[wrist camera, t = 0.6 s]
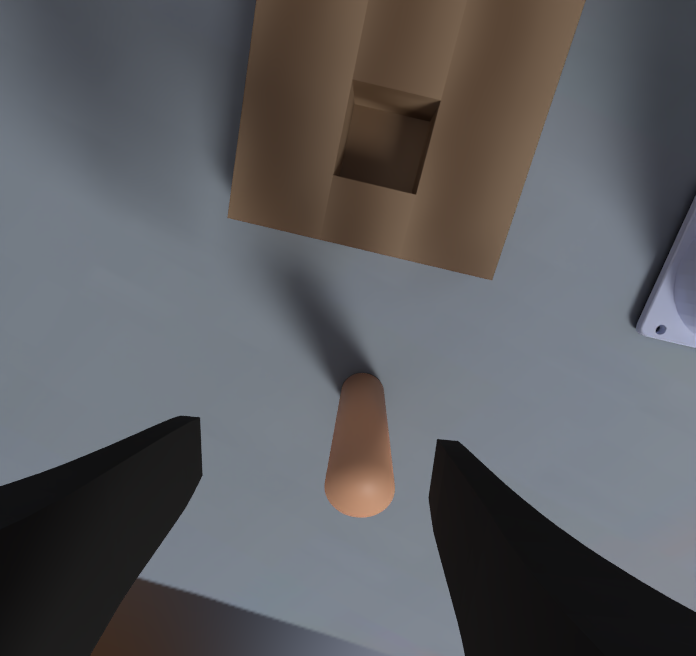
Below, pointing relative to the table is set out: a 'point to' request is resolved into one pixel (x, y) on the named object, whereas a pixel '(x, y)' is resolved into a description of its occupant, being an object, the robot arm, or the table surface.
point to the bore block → (397, 121)
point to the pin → (360, 450)
